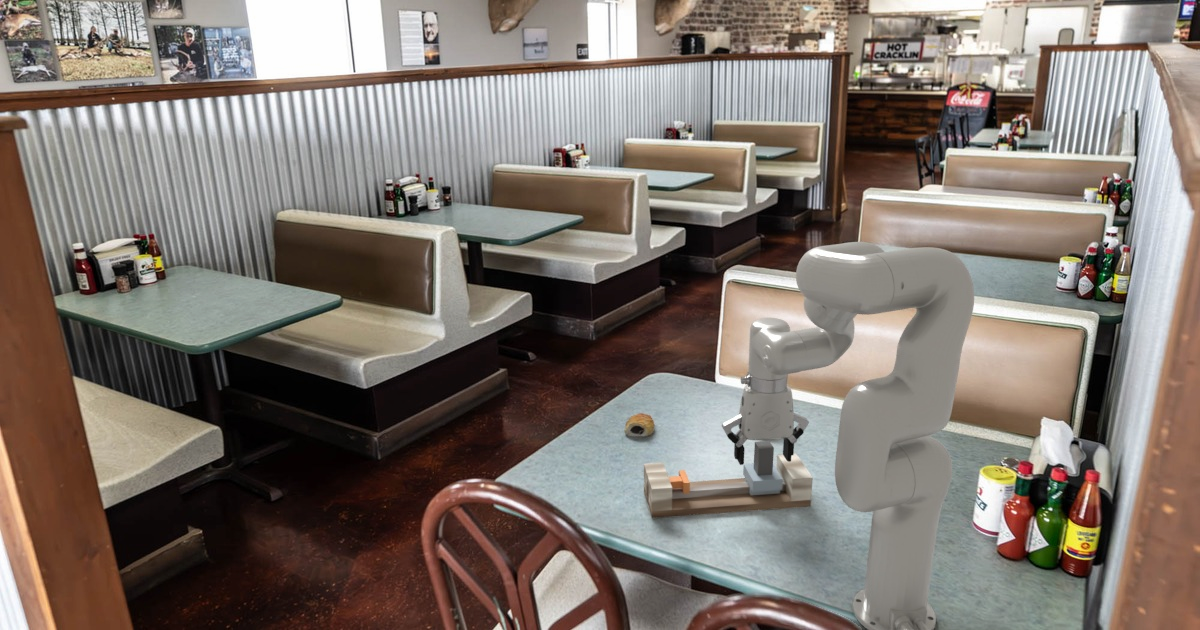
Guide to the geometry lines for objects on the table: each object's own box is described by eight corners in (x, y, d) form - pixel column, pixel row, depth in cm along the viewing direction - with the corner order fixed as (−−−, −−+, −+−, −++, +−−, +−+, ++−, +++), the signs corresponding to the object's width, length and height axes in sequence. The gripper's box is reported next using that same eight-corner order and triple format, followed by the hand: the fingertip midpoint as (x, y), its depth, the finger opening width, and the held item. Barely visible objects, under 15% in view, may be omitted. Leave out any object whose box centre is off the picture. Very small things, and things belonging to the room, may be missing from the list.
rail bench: (810, 506, 163) (812, 477, 161) (651, 518, 160) (651, 489, 158) (794, 480, 172) (795, 453, 170) (643, 491, 169) (643, 463, 167)
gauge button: (689, 493, 162) (689, 482, 161) (658, 495, 161) (658, 484, 161) (684, 480, 167) (684, 470, 166) (654, 482, 166) (654, 472, 165)
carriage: (781, 496, 163) (784, 452, 160) (752, 498, 163) (754, 454, 160) (771, 478, 170) (773, 435, 167) (742, 480, 169) (744, 437, 166)
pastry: (630, 419, 202) (630, 405, 201) (657, 422, 200) (658, 408, 199) (623, 437, 193) (623, 422, 192) (651, 439, 192) (651, 425, 191)
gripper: (728, 392, 154) (725, 472, 160) (817, 386, 156) (811, 466, 162) (719, 376, 161) (716, 453, 167) (804, 371, 163) (799, 448, 169)
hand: (763, 459), depth 164 cm, fingers open, 9 cm apart
